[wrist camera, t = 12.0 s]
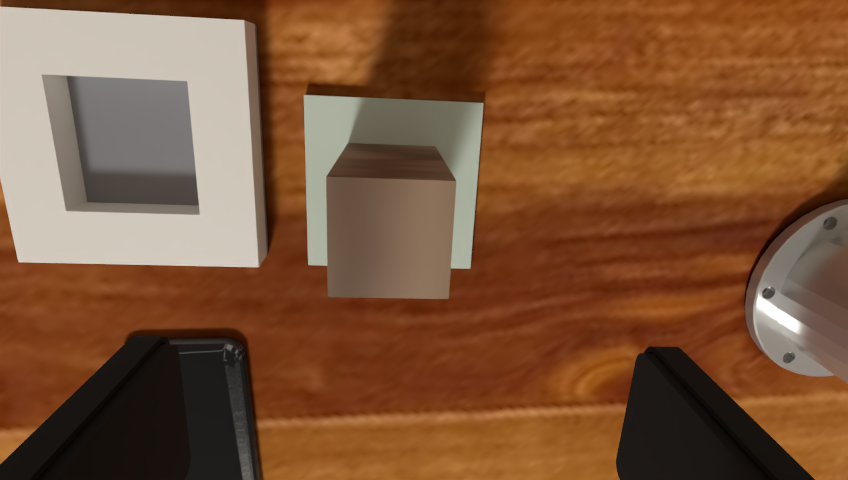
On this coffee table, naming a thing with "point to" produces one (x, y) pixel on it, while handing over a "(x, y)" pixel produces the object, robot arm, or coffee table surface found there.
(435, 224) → the walnut block
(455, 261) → the green mat
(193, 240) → the pocket plate
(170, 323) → the coffee table surface
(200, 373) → the phone
